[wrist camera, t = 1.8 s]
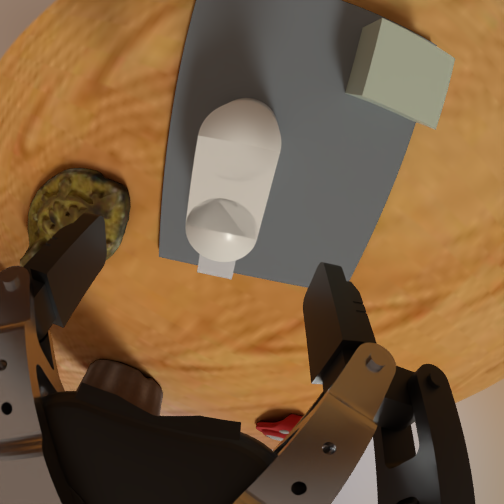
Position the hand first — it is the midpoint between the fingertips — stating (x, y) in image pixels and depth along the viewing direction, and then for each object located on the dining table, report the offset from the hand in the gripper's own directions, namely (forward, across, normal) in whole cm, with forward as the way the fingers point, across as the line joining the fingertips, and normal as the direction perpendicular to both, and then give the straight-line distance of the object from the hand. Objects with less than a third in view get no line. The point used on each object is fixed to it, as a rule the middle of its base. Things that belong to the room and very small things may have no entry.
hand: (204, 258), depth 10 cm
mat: (+11, -3, -3) cm, 12 cm away
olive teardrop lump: (+12, +14, +8) cm, 20 cm away
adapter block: (+10, -8, -10) cm, 16 cm away
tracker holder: (+12, -16, +40) cm, 45 cm away
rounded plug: (+10, 0, +1) cm, 10 cm away
